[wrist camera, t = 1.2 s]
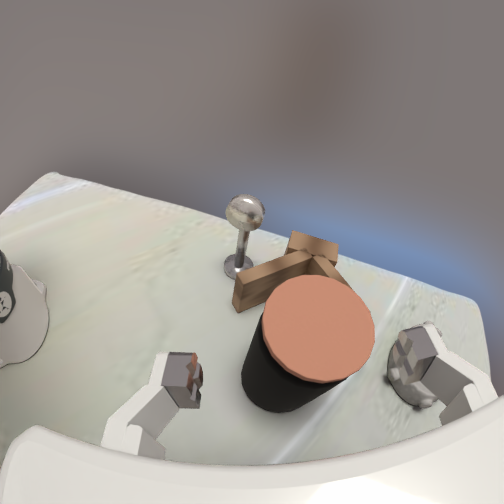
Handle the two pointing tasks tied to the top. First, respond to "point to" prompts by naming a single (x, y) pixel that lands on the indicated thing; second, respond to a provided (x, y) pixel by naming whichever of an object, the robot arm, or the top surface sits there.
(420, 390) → the dish
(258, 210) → the metal ball stand
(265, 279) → the wooden l-shaped bracket
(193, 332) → the top surface
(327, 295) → the coffee jar
